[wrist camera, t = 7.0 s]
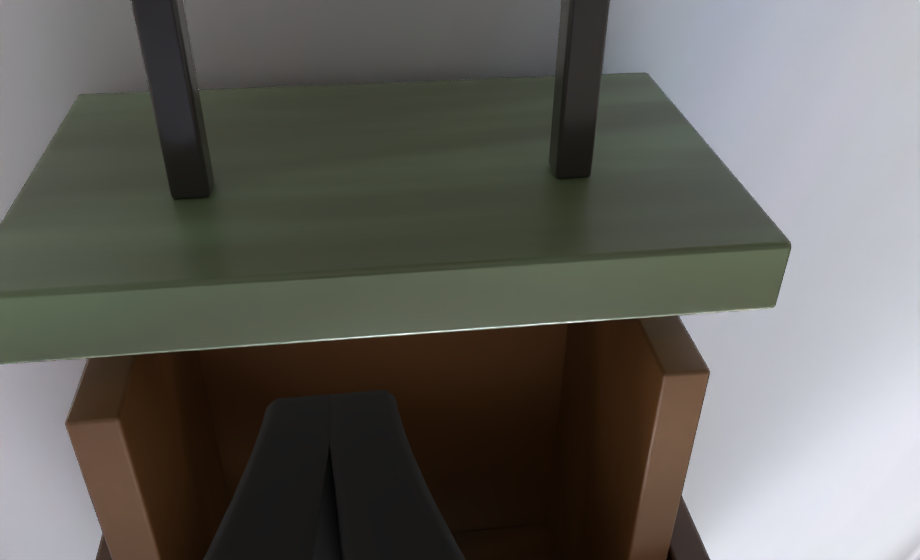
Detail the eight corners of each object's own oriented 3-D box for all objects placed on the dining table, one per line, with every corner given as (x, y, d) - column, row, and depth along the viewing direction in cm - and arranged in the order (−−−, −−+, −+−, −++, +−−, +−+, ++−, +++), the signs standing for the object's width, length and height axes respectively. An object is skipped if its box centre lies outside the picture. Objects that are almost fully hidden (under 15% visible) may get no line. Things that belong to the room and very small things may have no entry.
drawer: (5, -187, 14) (-210, -103, 8) (684, -189, 15) (895, -118, 9) (194, 544, 24) (154, 799, 19) (586, 506, 25) (659, 733, 20)
